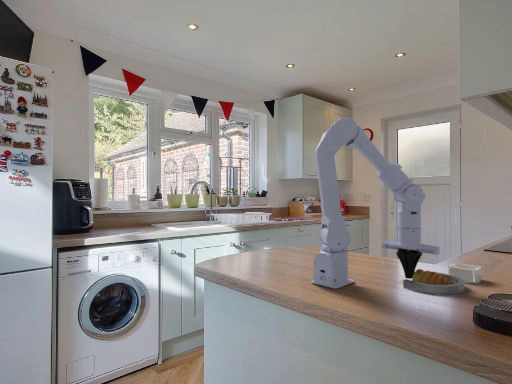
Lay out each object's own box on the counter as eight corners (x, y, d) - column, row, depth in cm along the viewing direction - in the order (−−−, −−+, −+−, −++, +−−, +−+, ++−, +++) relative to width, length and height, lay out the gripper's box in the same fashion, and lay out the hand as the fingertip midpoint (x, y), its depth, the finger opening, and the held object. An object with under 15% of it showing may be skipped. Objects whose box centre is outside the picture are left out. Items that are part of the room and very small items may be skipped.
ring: (454, 299, 74) (453, 290, 74) (401, 288, 82) (401, 280, 82) (472, 285, 84) (471, 277, 84) (424, 277, 93) (424, 270, 93)
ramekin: (476, 285, 85) (476, 270, 85) (447, 280, 90) (447, 266, 90) (483, 280, 90) (483, 266, 90) (454, 275, 95) (454, 262, 95)
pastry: (458, 288, 83) (458, 273, 83) (446, 293, 79) (446, 277, 79) (421, 280, 91) (421, 266, 91) (409, 284, 87) (409, 270, 87)
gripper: (443, 228, 86) (443, 279, 86) (389, 225, 96) (389, 270, 96) (434, 231, 81) (434, 285, 81) (378, 226, 92) (378, 274, 92)
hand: (409, 277), depth 88 cm, fingers closed
